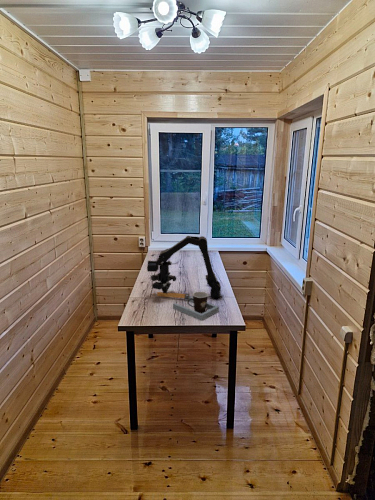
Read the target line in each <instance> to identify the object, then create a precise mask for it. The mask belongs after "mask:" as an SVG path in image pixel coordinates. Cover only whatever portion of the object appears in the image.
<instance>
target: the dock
mask: <svg viewBox="0 0 375 500" xmlns="http://www.w3.org/2000/svg"><path fill="white" fill-rule="evenodd" d="M191 298H192V299H193V296H191V295H189V299H191ZM189 299H185V298H183V301H184V302H188V300H189ZM189 303H192V304H194V301H193V300H190V301H189ZM172 309H174V310H176V311H178V312H180V313H182V314H185V315H188V316H189V317H192V318H194V319H197V320H199V321H204V320H206V319H208V318H209V317H211V316H213V315H215V314H217V313H218V312H219V311H220V310H219V309H220V306H217V305H216V304H212V303H210V302H208V301H207V305H206V312H204V313H198V312H196V311H195V310H193V309H191V308H188V307H186V306H183V305H182V304H178V303H176V302H174V303H172Z"/></svg>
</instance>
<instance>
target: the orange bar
mask: <svg viewBox="0 0 375 500" xmlns="http://www.w3.org/2000/svg"><path fill="white" fill-rule="evenodd" d="M189 296H190V293H179V292H178V293H177V292H167V293H165V292H163V291H162V292H161V291H157V292H156V297H164V298H180V299H184V298H185V299H189Z"/></svg>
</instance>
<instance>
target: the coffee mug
mask: <svg viewBox="0 0 375 500" xmlns="http://www.w3.org/2000/svg"><path fill="white" fill-rule="evenodd" d="M192 297H193V299H192V298H191V299H189V300H188V301H187V304H188V305H189V306H190V307H192V308H194V311H196V312H198V313H201V314H202V313H204V312H206V311H207V308H206V305H207V302H208V298H209V294H208V292H206V291H205V292H204V291H194V293H192ZM190 300H193V301H194V303H193V305H191V304H190V302H189V301H190Z"/></svg>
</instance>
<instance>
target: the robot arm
mask: <svg viewBox="0 0 375 500" xmlns="http://www.w3.org/2000/svg"><path fill="white" fill-rule="evenodd" d="M187 245H193V246H197V247H198V248H199V250H200V252H201V254H202V257H203V262H204V265H205V269H206V273H207V274H206V275H205V280H206V285H207V286H208V287H210V292H209V293H210V295H208V298H209V299H212V300H215V301H217V300H220V299H221V298H223V296H222V295H221V293H222V292H221V290H222V287H221V283H220V281H218V279H217V276H216V274H215V272H214V270H213V267H212V263H211V258H210V253H209V249H208V247H209V246H208V240H207V238H206V236H192V235H187V236H185V238H183V239H181V240H180V241H178V242H177V243H176V244H174V245H173V246H171V247H169V248H166V249H164V250H162V251H160V252H159V254H158V258H157V259H156V260H148V261H147V266H146V269H147V270H146V271H147V272H149V273H150V272H154V273H155V272H158V270H159V272H158V273H157V274H152V275H151V276H150V279H151V281H153V283H152V285H151V288H152V289H155V290H161V291H162V292H165V293H168V291H169V289H170V287H171V285H172V283H171V281H173V282H176V281H177V277H176V275H173V274H172V275H171V272H170V266H172V261H170V258H171V257H173V256H174V254H176V253H178V251H180V250H182V249H183V248H184V247H186V246H187ZM155 281H156V282H155Z"/></svg>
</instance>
